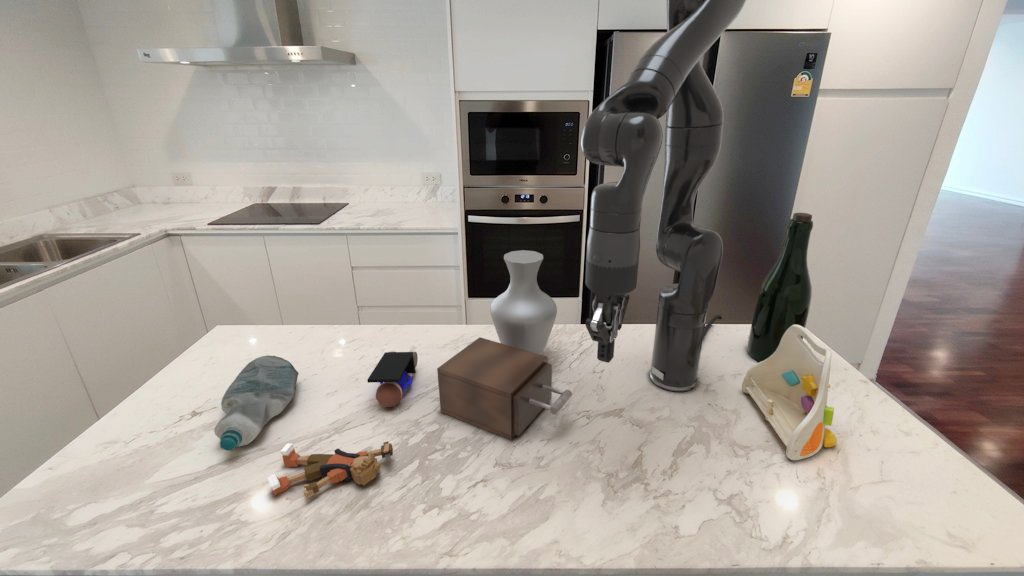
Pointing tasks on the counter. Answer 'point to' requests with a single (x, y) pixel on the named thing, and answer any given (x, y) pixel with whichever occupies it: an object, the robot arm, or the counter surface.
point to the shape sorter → (795, 393)
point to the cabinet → (486, 383)
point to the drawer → (536, 399)
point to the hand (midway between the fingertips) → (605, 359)
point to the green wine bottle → (783, 292)
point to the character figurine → (330, 468)
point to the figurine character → (393, 376)
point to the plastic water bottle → (255, 399)
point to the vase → (524, 305)
